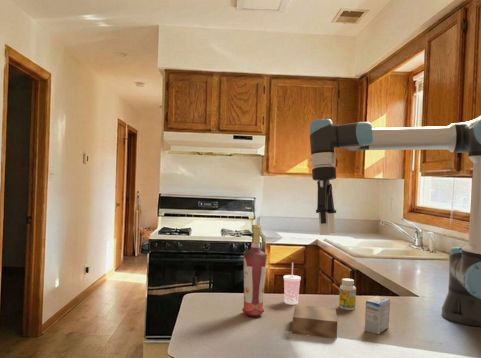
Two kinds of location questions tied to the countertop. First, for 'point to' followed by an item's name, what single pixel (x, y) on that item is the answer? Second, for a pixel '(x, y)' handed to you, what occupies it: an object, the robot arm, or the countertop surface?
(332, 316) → the walnut block
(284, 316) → the countertop surface
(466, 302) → the robot arm
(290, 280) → the beverage cup
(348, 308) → the supplement bottle
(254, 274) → the liquor
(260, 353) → the countertop surface
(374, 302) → the medicine box
